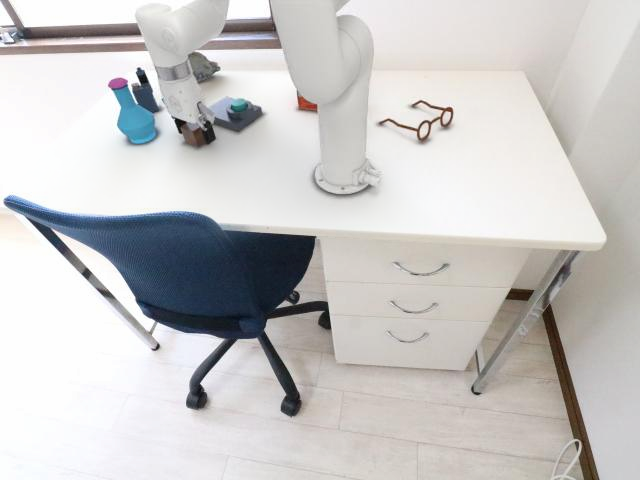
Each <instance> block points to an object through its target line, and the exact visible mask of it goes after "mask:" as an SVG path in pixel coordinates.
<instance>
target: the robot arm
mask: <svg viewBox="0 0 640 480" xmlns="http://www.w3.org/2000/svg"><path fill="white" fill-rule="evenodd" d="M349 1H351V0H269V2H270V8H271V12H272V16H273V19H274V23H275V27H276V31H277V34H278V38H279V42H280V46H281V49H282V53H283V56H284V57H283V58H284V61H285V64H286V67H287V70H288V74H289V77H290V79H291V82H292V84H293V86H294V88H295V89H296V92H297V91H298V92H299V93H300V94H301V95H302V96H303V97H304V98H305V99H306V100H307V101H309V102H311V103H314V104H317V107H318V111H317V122H318V136H319V137H318V139H319V151H320V163H319V164H318V165H317V166H316V168H315V172H314V178H315V182H316V184H317V185H318V187H320V188H321V189H322V190H324V191H326V192H328V193H332V194H336V195H351V194H354V193H358V192H360V191H362V190H364V189H365V188H366V187H367V186H369V185H370V186H373V187H376V188H378V187H380V186H379V185H381V181H382V179H381V177H380V176H381V173H382V172H381V170H378V169H374V168H372V166H371V158H367V136H368V135H367V132H368V112H369V95H370V94H369V93H370V84H371V77H372V70H373V64H374V56H375V53H374V52H375V45H374V43H375V42H374V38H373V35H372V33H371V29H370V28H369V26H368V25H367V23H365V21H364V20H363V19H361V18H360V17H357V16H355V15H353V14H341V15H338V16H337V13H338V12H339V11H340V10H341V9H342V8H343V7H345V6H346V5H348V3H349ZM229 6H230V0H189V1H188V2H185V3H183V4H181V5H180V6H177V7H176V8H174V9H173V7H172V6H171V5H170V4H169V3H167V2H161V1H154V2H149V3H145V4H142V5H140V6H139V7H137V8H136V9H135V12H134V18H135V21H136V24H137V27H138V29H139V30H140V31H139V32H140V34H141V37H142V39H143V42H144V43H145V47H146V50H147V52H148V55H149V56H150V60H151V62H152V65H153V67H154V69H155V73H156V76H157V82H158V87H159V90H160V94H161V97H162V98H161V101H162V103H163V104H164V105H165V109H166V110H167V111H166V112H167V113H168V114H169V115H170V118H171V119H172V120H173V121H174V124H175V127H176V129H177V132H178V134H180V135H183V133H182V131H181V128H180V127H181V126H183V125H184V124H186V123H187V122H190V123H196V122H197V123H198V124H199V125H200V127H201V128H202V130H201V132H202V135H203V138H204V141H205V143H204V144H205V145H210V144H211V143H213V142H214V141H216V140H217V136H216V133H215V129H214V127H213V126H214V124H215V123H214V122H215V120H214V119H215V114H214V113H213V112H212V111H211V110H209V109H208V108H209V107H207V103H206V101H205V97H204V95H203V93H202V89H201V87H200V85H199V82H197V80H196V78H195V76H194V75H193V71H192V67H191V64H190V61H189V58H188V54H191V53H192V52H194V51H195V52H197V50H199V49H201V48H202V47H203V46H205V45H207V44H208V43H209V42H211V41H212V40H215V39H216V38H217V37H218V36H219V35H220V34H221V33H222V31H224V30H223V29H224V28H225V25H226V21H227V18H228V17H227V16H228V13H229ZM203 118H204V119H205V120H204V119H203ZM202 120H204V121H205V122H204V123H205V124H204V123H203V121H202Z"/></svg>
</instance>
